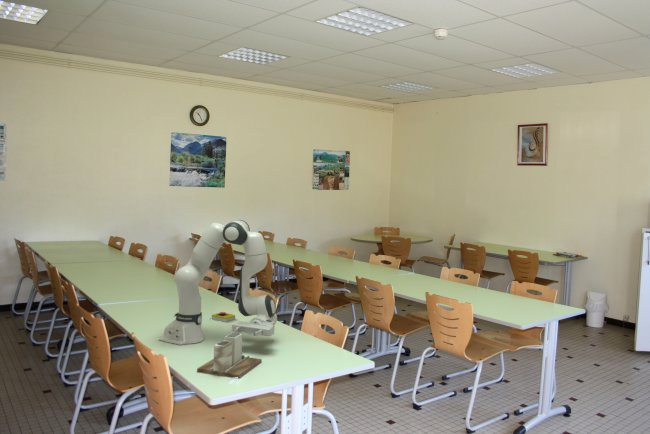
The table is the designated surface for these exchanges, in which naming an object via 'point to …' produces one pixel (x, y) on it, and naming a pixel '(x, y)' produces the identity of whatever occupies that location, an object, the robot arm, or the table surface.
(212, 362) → the rail board
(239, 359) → the grey module block
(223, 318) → the emergency button
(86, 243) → the table surface
